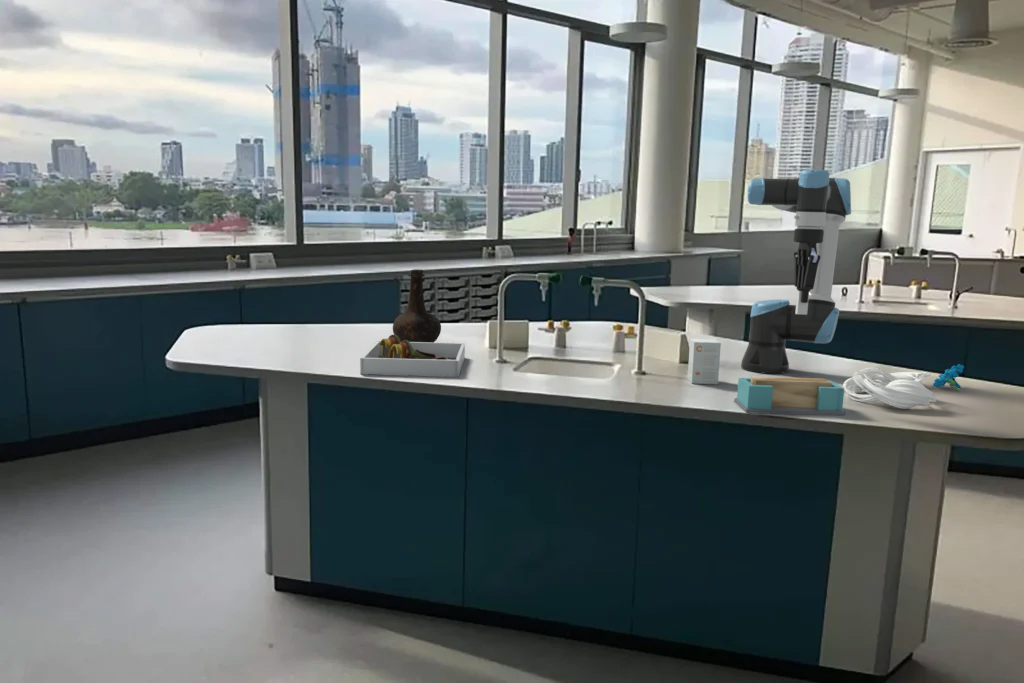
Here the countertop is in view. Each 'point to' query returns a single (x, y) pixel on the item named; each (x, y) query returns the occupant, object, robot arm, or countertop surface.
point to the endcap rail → (761, 400)
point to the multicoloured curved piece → (403, 350)
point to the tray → (416, 361)
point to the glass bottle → (417, 315)
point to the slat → (793, 390)
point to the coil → (890, 388)
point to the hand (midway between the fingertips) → (801, 313)
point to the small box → (704, 361)
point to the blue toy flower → (949, 377)
